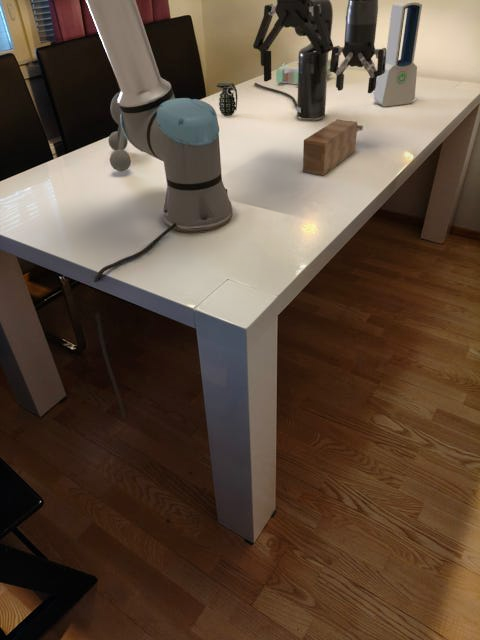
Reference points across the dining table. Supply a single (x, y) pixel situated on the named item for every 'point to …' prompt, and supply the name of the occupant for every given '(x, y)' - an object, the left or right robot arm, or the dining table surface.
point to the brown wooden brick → (329, 146)
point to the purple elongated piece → (358, 129)
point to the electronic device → (401, 73)
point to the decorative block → (291, 72)
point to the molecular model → (118, 140)
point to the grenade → (227, 99)
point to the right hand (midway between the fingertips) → (354, 91)
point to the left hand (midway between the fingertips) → (291, 82)
